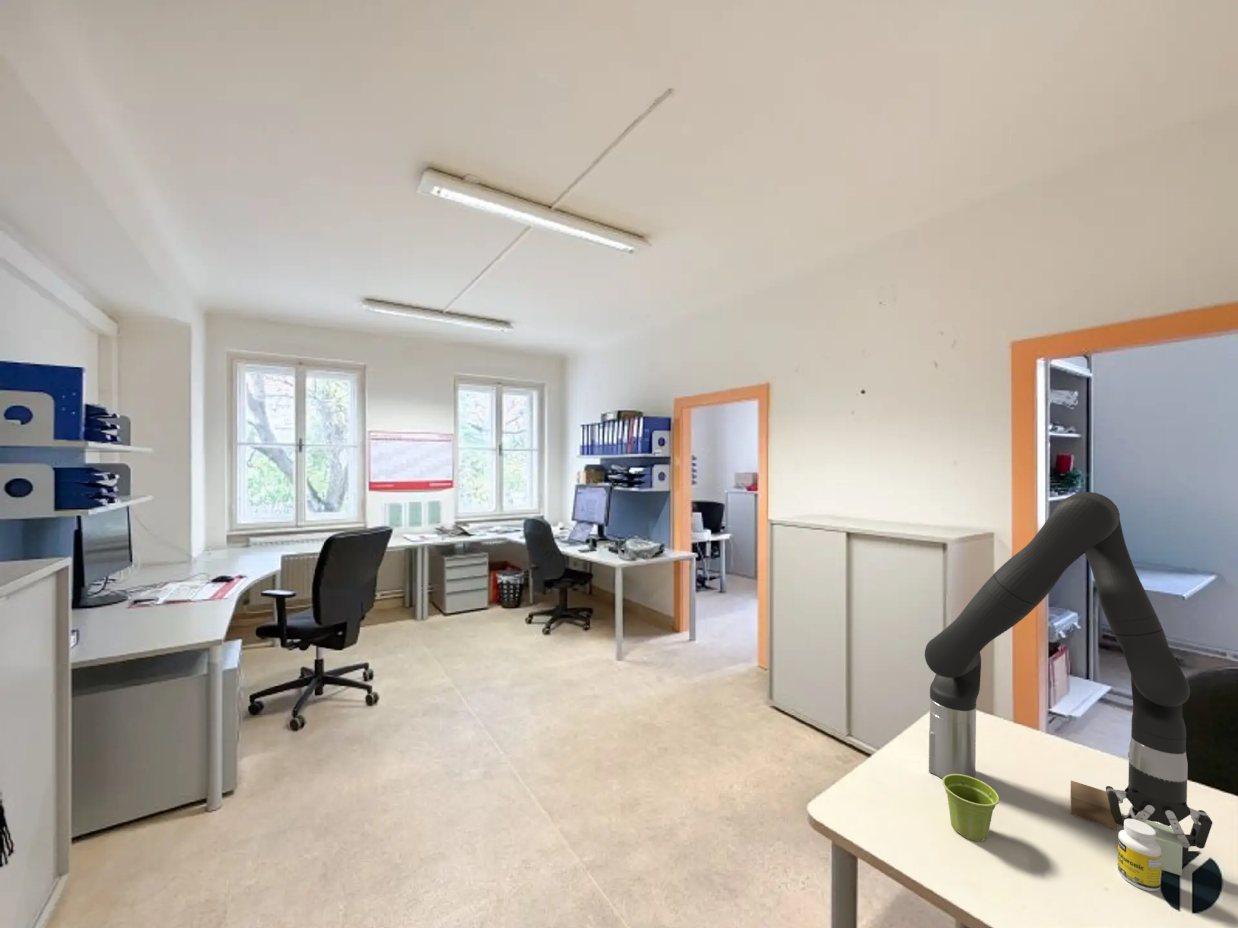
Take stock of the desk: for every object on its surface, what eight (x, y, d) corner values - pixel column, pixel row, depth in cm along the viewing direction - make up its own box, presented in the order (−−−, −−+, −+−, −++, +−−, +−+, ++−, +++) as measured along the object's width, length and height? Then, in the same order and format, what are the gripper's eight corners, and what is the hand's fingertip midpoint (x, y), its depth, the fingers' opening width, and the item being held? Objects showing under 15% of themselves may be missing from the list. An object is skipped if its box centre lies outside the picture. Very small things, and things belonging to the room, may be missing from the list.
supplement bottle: (1108, 868, 94) (1110, 816, 93) (1135, 866, 94) (1136, 814, 94) (1141, 893, 88) (1142, 838, 88) (1169, 891, 89) (1171, 836, 88)
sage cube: (1139, 862, 95) (1139, 833, 95) (1130, 843, 99) (1130, 815, 99) (1181, 875, 92) (1182, 845, 92) (1170, 855, 96) (1171, 826, 96)
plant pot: (988, 819, 106) (988, 778, 106) (1006, 853, 97) (1006, 809, 97) (936, 809, 109) (937, 769, 109) (949, 841, 100) (949, 798, 100)
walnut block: (1071, 815, 107) (1071, 796, 107) (1070, 797, 113) (1070, 780, 113) (1117, 831, 103) (1117, 811, 103) (1114, 812, 108) (1114, 793, 108)
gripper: (1110, 764, 96) (1108, 852, 96) (1223, 792, 88) (1220, 887, 89) (1100, 744, 102) (1098, 827, 103) (1205, 768, 94) (1203, 858, 95)
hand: (1155, 854), depth 96 cm, fingers closed on sage cube, 5 cm apart
